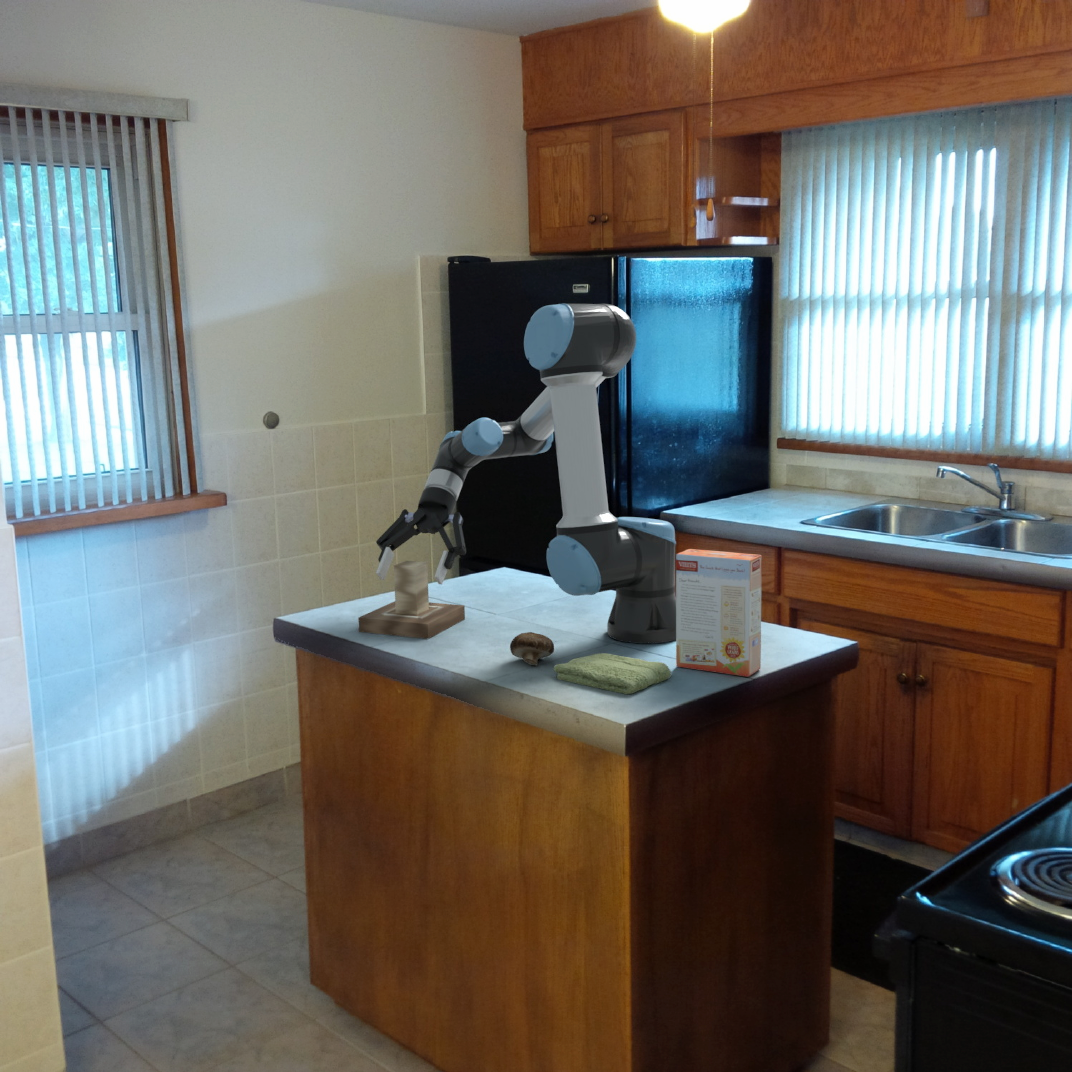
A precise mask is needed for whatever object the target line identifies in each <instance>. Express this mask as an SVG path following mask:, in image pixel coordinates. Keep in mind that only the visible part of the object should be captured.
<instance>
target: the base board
mask: <svg viewBox="0 0 1072 1072" xmlns="http://www.w3.org/2000/svg"><path fill="white" fill-rule="evenodd" d="M465 606H466V605H463V604H452V603H442V602H441V603H440V602H430V601H429V610H427V611H425V612H423V613H420V614H418V615H410V614H400V613H396V607H395V600H394V601H392V602H390V603H387V604H386V605H383V606H381V607H379V608H377V609H374V610H372V611H370V612H368V613H365V614H363V615H361V616H359V617H358V618H357V619H358V633H364V634H366V633H367V634H376V635H387V636H397V637H406V638H418V639H426V640H427V639H428V640H429V639H430V638H431V639H432V638H433V637H435V636H437V635H438V634H440V633H442V632H444V631H446V630H447V629H450V628H451V627H454V626H455V625H457V624H458V623H461V622H462V621H464V620H465V619H466V615H465V614H466V612H465V611H466V609H465Z"/></svg>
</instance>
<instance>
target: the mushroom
mask: <svg viewBox="0 0 1072 1072" xmlns="http://www.w3.org/2000/svg"><path fill="white" fill-rule="evenodd" d="M554 644H555V643H554V642H553V640H552V639H551V638H549V637H548V636H546V635H544V634H541V633H538V632H537V633H535V632H533V631H528V632H521V633H520V634H517V635H515V636H514V638H512V640H511V642H510V645H509V649H510V653H511V654H512V655H513V656H514V657H516V658H519V659H522V660H523V662H525V663H527V664H529V665H531V666H532V665H533V666H538V660H540V659H545V658H549V657H550V656H552V655H553V653H554V651H555V645H554Z"/></svg>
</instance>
